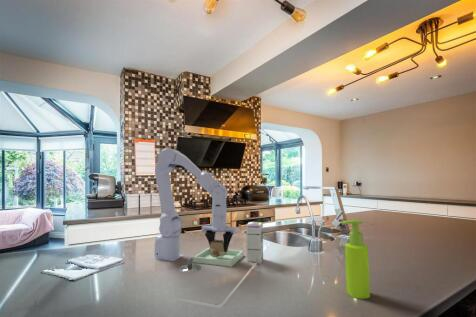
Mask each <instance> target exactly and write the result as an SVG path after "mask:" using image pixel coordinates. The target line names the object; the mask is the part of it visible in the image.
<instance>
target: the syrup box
mask: <svg viewBox="0 0 476 317" xmlns="http://www.w3.org/2000/svg"><path fill="white" fill-rule="evenodd" d="M245 227H246V228H245V229H246V231H245V232H246V261H247V262H252V263H253V262H254V264H262V263H263V261H264V240H263V238H264V236H263V233H264V232H263V222H261V221H250V222H249V221H248V223H246V226H245Z"/></svg>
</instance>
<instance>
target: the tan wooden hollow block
mask: <svg viewBox="0 0 476 317" xmlns="http://www.w3.org/2000/svg"><path fill="white" fill-rule="evenodd" d="M209 248H210V256H212V257H216V258H217V257H223V256H224V255H226V254H227V253H228V251H227V252H224V239H218V238H216V239H215V240H213V241H212V242H210V245H209Z"/></svg>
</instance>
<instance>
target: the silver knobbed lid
mask: <svg viewBox="0 0 476 317" xmlns="http://www.w3.org/2000/svg"><path fill="white" fill-rule="evenodd" d="M201 269H202V266H201V265H198V264H195V263H194V264H193V257H188V258H187V264H184V265H181V266H179V267H178V269H177V271H178V272H181V273H188V274H189V273H196V272H198V271H200V270H201Z"/></svg>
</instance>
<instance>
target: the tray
mask: <svg viewBox="0 0 476 317" xmlns="http://www.w3.org/2000/svg"><path fill="white" fill-rule="evenodd" d="M243 257H244V250H237V249H236V250H235V249H228V253H227V254H226V255H224V256H223V257H217V258H216V257H212V256H210V247H208V248H205V249H204V250H203V251H201V252H199V253H197V254H196V255H194V256H192V263H198V264H206V265H214V266H222V267H231V268H232V267H233V266H234V265H235V264H236V263H237V262H238V261H239V260H240V259H242V258H243Z"/></svg>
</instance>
